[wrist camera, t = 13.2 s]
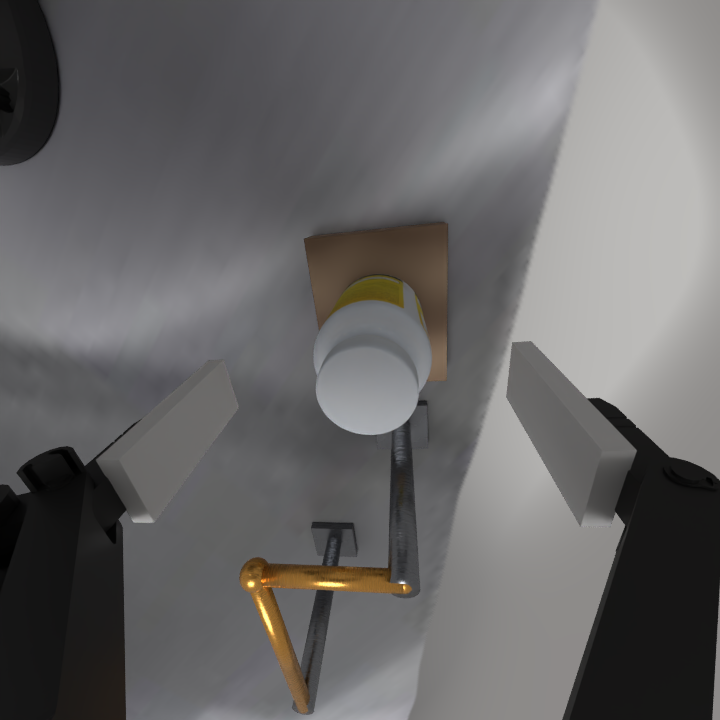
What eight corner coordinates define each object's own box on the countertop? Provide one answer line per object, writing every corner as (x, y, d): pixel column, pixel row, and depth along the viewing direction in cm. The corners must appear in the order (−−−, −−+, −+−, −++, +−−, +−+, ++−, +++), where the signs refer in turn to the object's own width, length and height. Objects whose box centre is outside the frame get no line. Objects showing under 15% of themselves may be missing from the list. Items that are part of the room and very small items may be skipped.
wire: (284, 405, 33) (196, 561, 18) (426, 400, 31) (451, 571, 16) (319, 549, 42) (278, 728, 27) (429, 552, 40) (447, 747, 25)
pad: (312, 236, 25) (303, 238, 23) (443, 222, 24) (447, 223, 22) (333, 372, 30) (328, 385, 28) (442, 367, 29) (446, 380, 27)
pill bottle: (322, 296, 25) (266, 363, 14) (398, 255, 23) (398, 296, 12) (363, 365, 27) (340, 466, 16) (436, 332, 25) (462, 423, 15)
